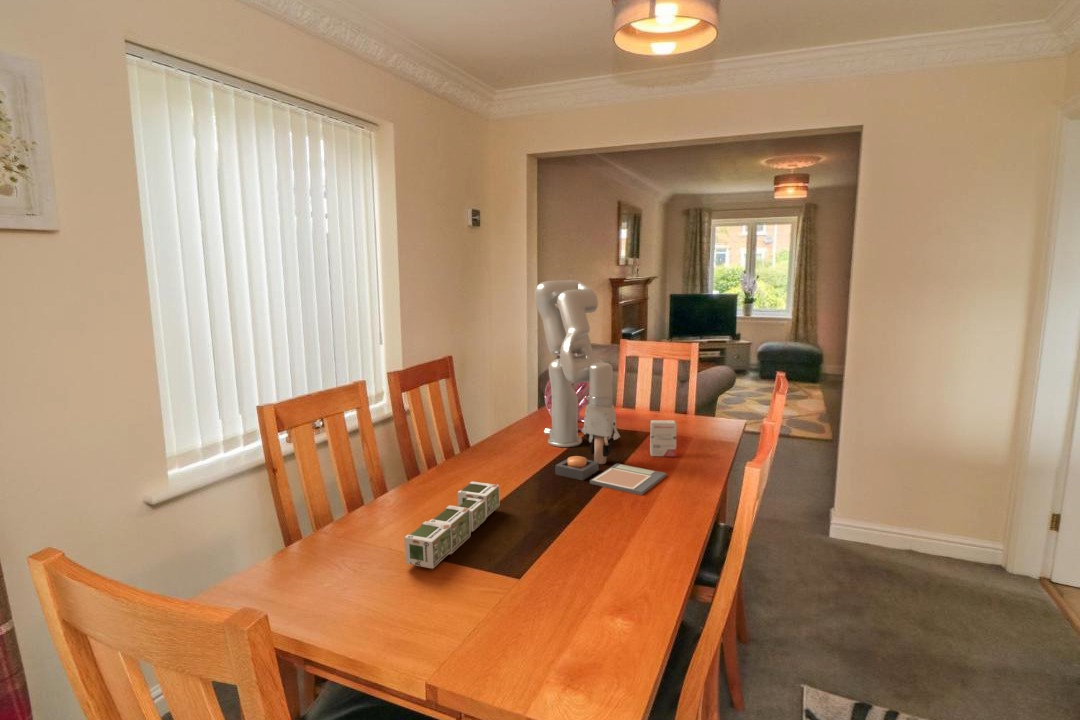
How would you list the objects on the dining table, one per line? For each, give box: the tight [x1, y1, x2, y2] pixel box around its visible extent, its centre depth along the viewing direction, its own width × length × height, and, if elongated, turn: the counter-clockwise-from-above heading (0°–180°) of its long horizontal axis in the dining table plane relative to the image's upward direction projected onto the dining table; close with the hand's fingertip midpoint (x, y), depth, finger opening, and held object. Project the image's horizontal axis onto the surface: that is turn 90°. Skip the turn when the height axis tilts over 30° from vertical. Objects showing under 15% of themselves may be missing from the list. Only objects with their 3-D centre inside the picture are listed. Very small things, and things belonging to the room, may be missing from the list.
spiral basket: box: [544, 379, 589, 432], centre depth 238 cm, size 28×28×27 cm
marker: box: [593, 435, 607, 465], centre depth 196 cm, size 4×4×12 cm
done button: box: [567, 455, 588, 469], centre depth 188 cm, size 6×6×2 cm
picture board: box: [589, 462, 667, 496], centre depth 181 cm, size 17×18×1 cm
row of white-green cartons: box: [404, 481, 501, 569], centre depth 145 cm, size 35×8×7 cm, turn 159°
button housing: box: [554, 458, 600, 481], centre depth 188 cm, size 10×10×3 cm
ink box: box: [649, 419, 678, 457], centre depth 204 cm, size 9×5×12 cm, turn 84°
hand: (600, 453), depth 197 cm, fingers closed on marker, 4 cm apart
